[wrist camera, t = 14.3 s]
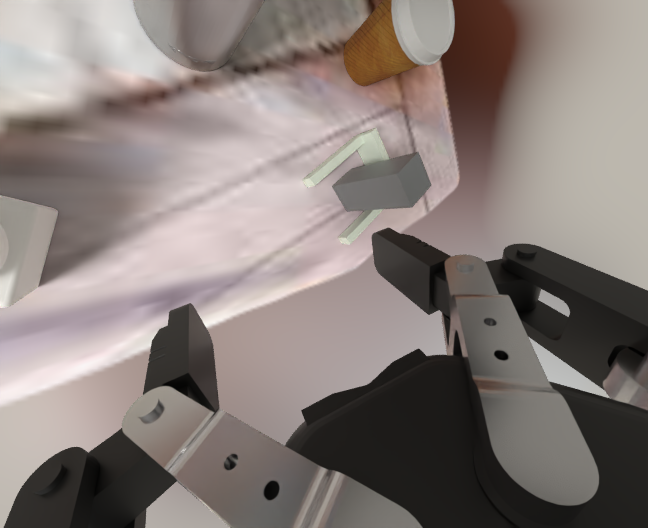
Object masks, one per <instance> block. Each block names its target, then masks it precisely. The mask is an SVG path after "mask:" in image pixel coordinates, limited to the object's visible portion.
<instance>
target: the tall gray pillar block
mask: <svg viewBox="0 0 648 528" xmlns="http://www.w3.org/2000/svg"><path fill="white" fill-rule="evenodd" d="M430 186H431V183H430V180H429V178H428V175H427V173H426V170H425V167H424V165H423V162H422V160H421V157H420V155H419V152H416V153H412V154H408V155H404V156H400V157H397V158H393V159H389V160H385V161H381V162H377V163H373V164H369V165H365V166H361V167H357V168H353V169H350V170H349V171H348V172H347V173H346V174H345V175H344V176H343V177H342V178H341V179H340V180H338V181H337V182H336V183H335V184H334V185H333V186H332V187H333V189H334V190H335V192H336V194H337V196H338V197H339V199H340V201H341V202H342V204H343V206H344V208H345V209H346V211H363V210H379V209H394V208H410V207H413V206H414V205H415V203H416V202H417V201H418V200H419V199H420V198H421V197H422V195H423V194H424V193H425V192H426V191H427V190H428V189H429V187H430Z"/></svg>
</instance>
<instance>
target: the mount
mask: <svg viewBox="0 0 648 528" xmlns="http://www.w3.org/2000/svg"><path fill="white" fill-rule="evenodd" d="M356 150H357V151H358V153H359V155H360V157H361V159H362V161H363V163H364V165H369V164H373V163H377V162H381V161H385V160H389V159H390V158H389V156H388V154H387V151H386V149H385V147H384V145H383V142H382V140H381V138H380V136H379V133H378V131H377V129H376V128H374V129H371V130H369V131H366V132H364V133H361V134H359V135H356V136H354V137H353V138H352V139H351V140H349V141H348V142H347V143H346V144H345V145H343V146H342V147H341V148H340V149H339V150H337V151H336V152H335V153H334V154H333V155H331V156H330V157H329V158H328V159H327V160H325V161H324V162H323V163H322V164H321V165H319V166H318V167H317V168H316V169H315V170H313V171H312V172H311V173H310V174H309V175H307V176H306V177H305V178H304V179H303V180H302V181H303V182H304V184H305V185H306V187H312V186H315V185H317V184H318V183H319V182H320V181H321V180H322V179H323V178H325V177H326V176H327V175H328V174H329V173H330V172H331V171H333V170H334V169H335V168H336V167H337V166H338V165H340V164H341V163H342V162H343V161H344V160H345V159H346V158H348V157H349V156H350V155H351V154H352V153H353V152H355V151H356ZM382 210H383V209H379V210H365V211H364V212H363V213H362V214H361V215H360V216H359V217H358V218H357V219H356V220H355V221H354V222H353V223H352V224H351V225H350V226H349V227H348V228H347V229H346V230H345V231H344V232H343V233H342V234H341V235H340V236H339V237H338V238H339V240H340V242H341V243H342V244H351V243H352V242H353V241H354V240H355V239H356V238H357V237H358V236H359V235H360V234H361V233H362V232H363V230H364V229H365V228H366V227H367V226H368V225H369V224H370V223H371V222H372V221H373V220H374V219H375V218H376V217H377V216H378V215H379V214H380V212H381V211H382Z"/></svg>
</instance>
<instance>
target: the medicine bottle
mask: <svg viewBox="0 0 648 528" xmlns="http://www.w3.org/2000/svg"><path fill="white" fill-rule="evenodd" d="M57 216H58V211H57V209H55V208H52V207H48V206H43V205H39V204H35V203H31V202H27V201H23V200H19V199H14V198H10V197H6V196H2V195H0V308H6V307H10V306H11V305H13V304H14V303H16V302H17V301H19V300H20V299H22V298H23V297H25V296H26V295H28V294H29V293H30V292H32V291H33V290H35V289H36V288H37V287H38V286H39V282H40V278H41V275H42V271H43V267H44V264H45V260H46V256H47V253H48V249H49V245H50V242H51V238H52V234H53V231H54V227H55V223H56V220H57Z"/></svg>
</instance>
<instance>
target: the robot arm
mask: <svg viewBox="0 0 648 528" xmlns="http://www.w3.org/2000/svg"><path fill="white" fill-rule="evenodd" d="M264 1H265V0H133V2H134V6H135V10H136V14H137V16H138V19H139V21H140V23H141V25H142V27H143V29H144V30H145V32H146V33H147V35H148V36H149V38H150V39H151V40H152V41H153V43H154V44H155V45H156V46H157V47H158V48H159V49H160V50H161V51H162V52H163V53H164V54H165V55H167V56H168V57H169V58H171V59H172V60H174V61H175V62H177V63H178V64H180V65H183V66H185V67H187V68H190V69H194V70H199V71H210V70H214V69H218V68H219V67H221V66H223V65H224V64H225V63H226V62H227V61H228V60H229V58H230V57H231V55H232V53H233V52H234V50H235V49H236V47H237V45H238V44H239V42H240V40H241V39H242V37H243V36H244V34H245V32H246V31H247V29H248V27H249V26H250V24H251V22H252V21H253V19H254V17H255V16H256V14H257V13H258V11H259V9H260V8H261V6H262V4H263V3H264ZM372 246H373V255H374V263H375V267H376V269H377V271H378V273H379V274H380V275H381V276H382V277H384V278H385V279H386V280H387V281H388V282H390V283H391V284H392V285H393V286H395V287H396V288H397V289H398V290H399V291H400V292H402V293H403V294H404V295H405V296H406V297H408V298H409V299H410V300H411V301H412V302H414V303H415V304H416V305H417V306H419V307H420V308H421V309H422V310H423V311H425V312H426V313H427V314H428V315H430V314H432V313H434V312H436V311H438V310H440V311H441V312H442V324H443V331H444V338H445V345H446V352H447V355H432V356H426V355H425V354H424V353H423V352H422V351H421V350H420V349H417V350H415V351H413V352H411V353H409V354H407V355H405V356H403V357H402V358H400V359H398V360H396V361H394V362H392V363H391V364H390V365H389V366H388V367H387V368H386V369H385V370H384V371H383V372H381V373H380V374H379V375H378V376H377V377H376V378H375V379H374V380H373V381H372V382H371V383H369V384H368V385H365V386H362V387H357V388H354V389H350V390H346V391H342V392H338V393H334V394H331V395H330V396H328V397H326V398H324V399H322V400H320V401H318V402H316V403H314V404H312V405H311V406H309V407H307V408H305V409H303V410H302V414H303V416H304V419H305V422H304V423H302V424H301V425H300V426H299V427H298V428H297V430H296V431H295V432H294V433H293V434H292V436H291V437H290V439H289V440H288V441H287V443H286V445H285V446H284V445H282V444H281V443H279V442H277V441H275V440H274V439H272V438H270V437H269V436H267V435H265V434H263V433H261V432H260V431H258V430H256V429H255V428H253V427H251V426H249V425H248V424H246V423H244V422H242V421H241V420H239V419H237V418H236V417H234V416H232V415H230V414H229V413H227V412H225V411H223V410H221V409H219V400H218V390H217V379H216V371H215V359H214V351H213V350H214V349H213V343H212V340H211V337H210V334H209V332H208V330H207V329H206V327H205V325H204V323H203V322H202V320H201V318H200V316H199V315H198V313H197V311H196V310H195V308H194V306H193V305H192V304H191V303H189V304H187V305H184V306H182V307H179V308H176V309H174V310H171V311H170V312H169V320H168V326H166V327H164V328H161V329H159V331H158V333H157V334H156V336H155V337H154V339H153V340H152V345H151V351H150V352H151V354H150V357H149V363H148V368H147V374H146V380H145V386H144V392H143V396H141V397H140V398H139V399H137V400H136V401H135V402H134V403H133V405H132V406H131V407H130V408H129V410H128V411H127V413H126V415H125V416H124V419H123V423H122V428H121V429H120V430H119V431H118V432H116V433H115V434H114V435H112V436H111V437H110V438H108V439H107V440H105V441H104V442H102V443H101V444H100V445H98V446H97V447H96V448H94V449H93V450H91V451H90V452H89V453H88V452H87V451H85V450H84V449H82V448H80V447H71V448H68V449H65V450H63V451H61V452H59V453H57V454H55V455H54V456H53V457H51V458H49V459H48V460H47V461H46V462H44V463H43V464H42V465H41V466H40V467H39V468H38V469H37V470H36V471H35V472H34V473H33V474H32V475H31V476H30V477H29V478H28V479H27V481H26V482H25V483H24V485H23V486H22V488H21V489H20V491H19V493H18V495H17V497H16V499H15V501H14V504H13V506H12V509H11V511H10V513H9V516H8V518H7V521H6V523H5V526H4V528H145V523H146V508H147V507H148V506H150V505H151V504H152V503H153V502H154V501H155V500H156V499H157V498H158V497H159V496H161V495H162V494H163V493H164V492H165V491H166V490H167V489H168V488H169V487H171V486H172V485H173V484H174V483H175V482H176V481H178V483H180V484H181V485H182V486H183V487H184V488H185V489H187V490H188V491H189V492H190V493H191V494H192V495H194V496H195V497H196V498H197V499H198V500H199V501H200V502H202V503H203V504H204V505H205V506H206V507H207V508H208V509H209V510H211V511H212V512H213V513H214V514H215V515H216V516H217V517H219V518H220V519H221V520H222V521H223V522H224V523H226V524H227V525H228V526H229V527H230V528H648V291H647V290H645V289H642V288H640V287H638V286H635V285H632V284H630V283H628V282H625V281H623V280H620V279H618V278H615V277H613V276H610V275H608V274H605V273H603V272H601V271H598V270H596V269H593V268H591V267H588V266H586V265H584V264H581V263H579V262H576V261H573V260H571V259H569V258H566V257H564V256H561V255H559V254H557V253H554V252H552V251H549V250H546V249H544V248H542V247H539V246H536V245H531V244H514V245H510V246H508V247H506V248H505V249H504V252H503V257H502V259H499V260H493V261H488V262H485V261H483V260H482V259H480V258H478V257H476V256H472V255H455V256H452V257H451V256H449V255H448V254H446V253H444V252H442V251H440V250H438V249H436V248H434V247H432V246H431V245H428V244H427V243H425V242H422V241H421V240H419V239H417V238H415V237H414V236H410V235H405V234H399V233H398V232H396V231H394V230H392V229H390V228H386V229H383V230H381V231H378V232H376V233H373V235H372ZM541 289H543V290H545V291H547V292H548V293H550V294H552V295H554V296H556V297H558V298H560V299H561V300H563V301H564V302H565V303H566V304H567V305H568V307H569V309H570V315H569V317H567V316H565V315H563V314H562V313H560V312H558V311H556V310H555V309H553V308H551V307H549V306H548V305H546V304H544V303H542V302H541V301H539V300H538V298H539V294H540V291H541ZM528 337H530V338H531V339H533V340H534V341H536V342H537V343H538V344H540V345H541V346H543V347H544V348H545V349H547V350H548V351H550V352H551V353H553V354H554V355H555V356H557V357H558V358H560V359H561V360H562V361H564V362H566V363H567V364H568V365H569V366H571V367H572V368H574V369H575V370H577V371H578V372H579V373H581V374H582V375H584V376H585V377H586V378H588V379H590V380H591V381H592V382H594V383H595V384H596V385H598V386H600V387H601V388H602V389H603V390H605V391H606V393H607V394H608V396H609V397H610V398H611V399H610V398H606V397H603V396H599V395H596V394H592V393H588V392H585V391H581V390H578V389H574V388H571V387H567V386H564V385H560V384H556V383H553V382H549V381H548V379H547V377H546V375H545V373H544V370H543V368H542V366H541V364H540V362H539V359H538V357H537V355H536V353H535V351H534V349H533V347H532V344H531V342H530V340H529V338H528Z"/></svg>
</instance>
